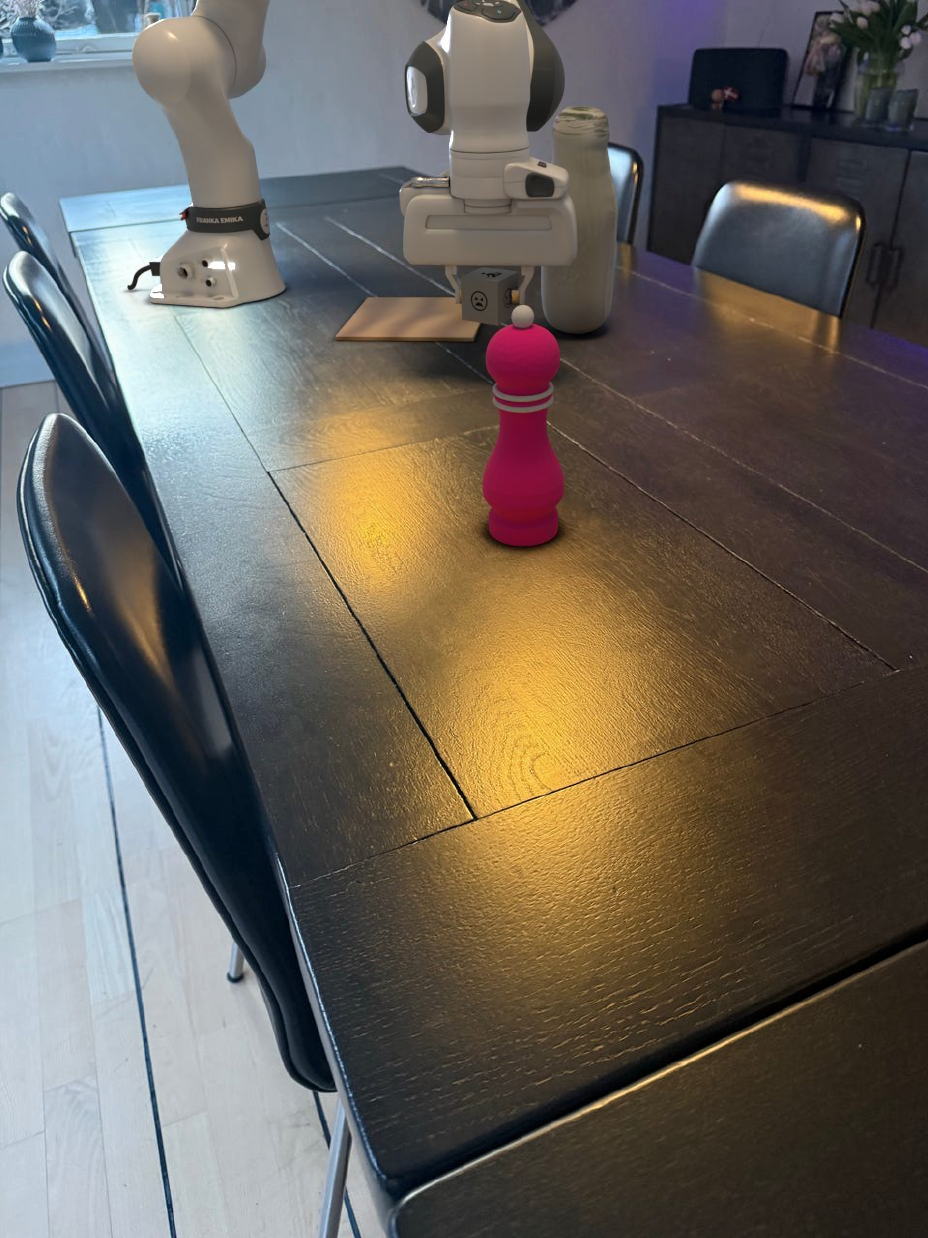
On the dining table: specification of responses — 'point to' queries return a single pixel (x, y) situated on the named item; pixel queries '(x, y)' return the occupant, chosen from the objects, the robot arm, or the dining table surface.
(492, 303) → the grey emoticon cube
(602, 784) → the dining table surface
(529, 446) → the pepper mill
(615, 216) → the glass bottle
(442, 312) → the brown wooden board
